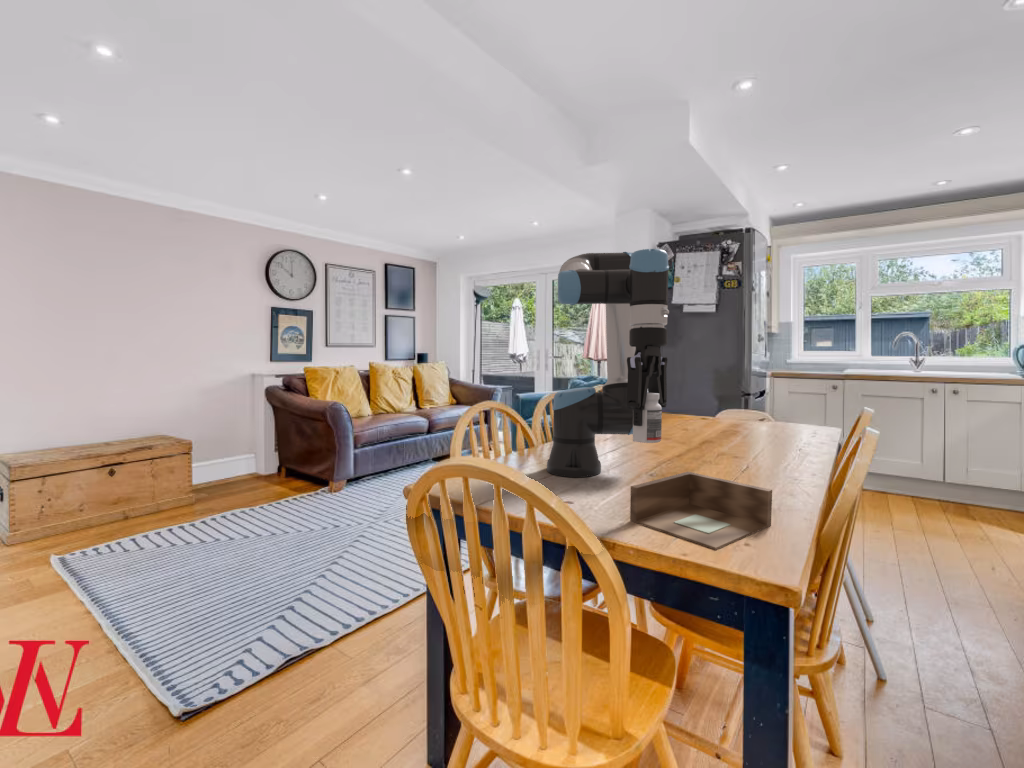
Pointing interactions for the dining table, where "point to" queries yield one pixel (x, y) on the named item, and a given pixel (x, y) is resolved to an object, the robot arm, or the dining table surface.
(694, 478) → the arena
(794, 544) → the dining table surface
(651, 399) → the pill bottle
